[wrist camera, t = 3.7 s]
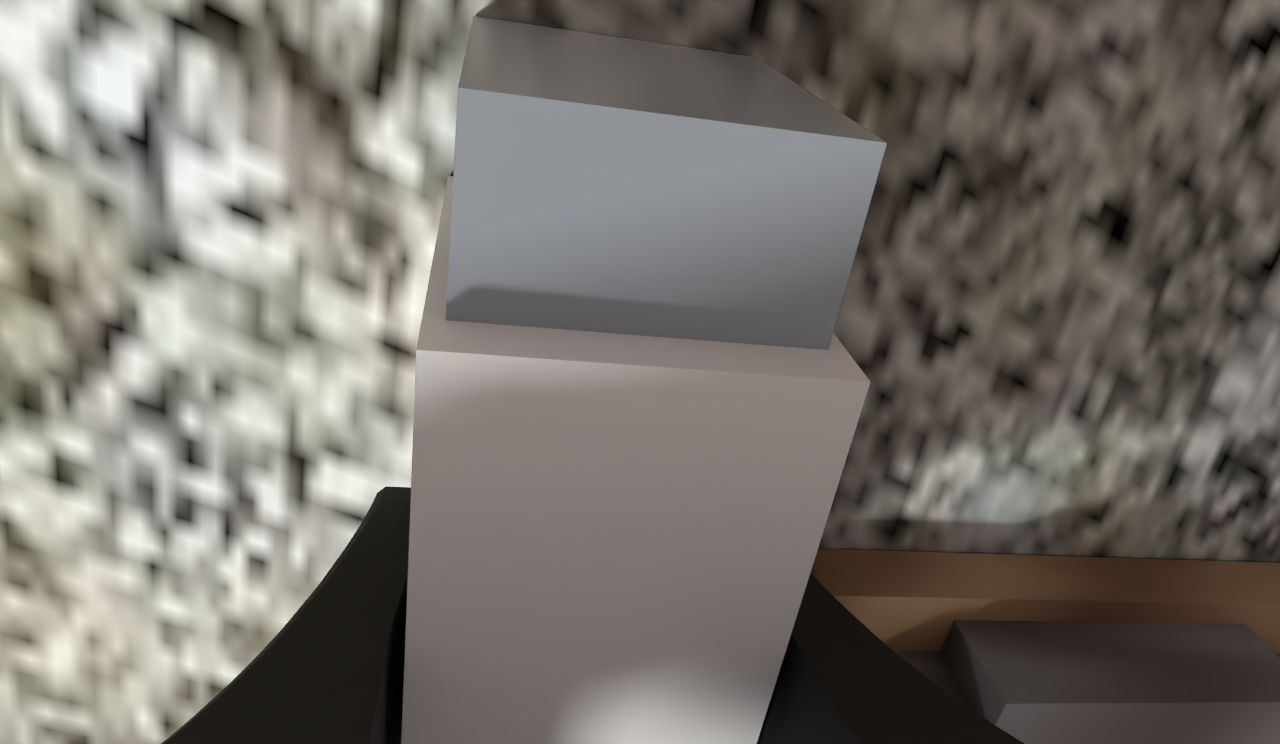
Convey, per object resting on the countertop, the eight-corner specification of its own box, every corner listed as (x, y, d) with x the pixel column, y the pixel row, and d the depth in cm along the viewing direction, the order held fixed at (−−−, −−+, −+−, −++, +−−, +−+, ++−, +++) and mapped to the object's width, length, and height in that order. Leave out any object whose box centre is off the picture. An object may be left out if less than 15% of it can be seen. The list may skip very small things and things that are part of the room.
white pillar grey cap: (420, 707, 16) (391, 1008, 12) (457, 13, 11) (426, 100, 6) (633, 705, 17) (679, 988, 12) (770, 59, 11) (939, 165, 7)
